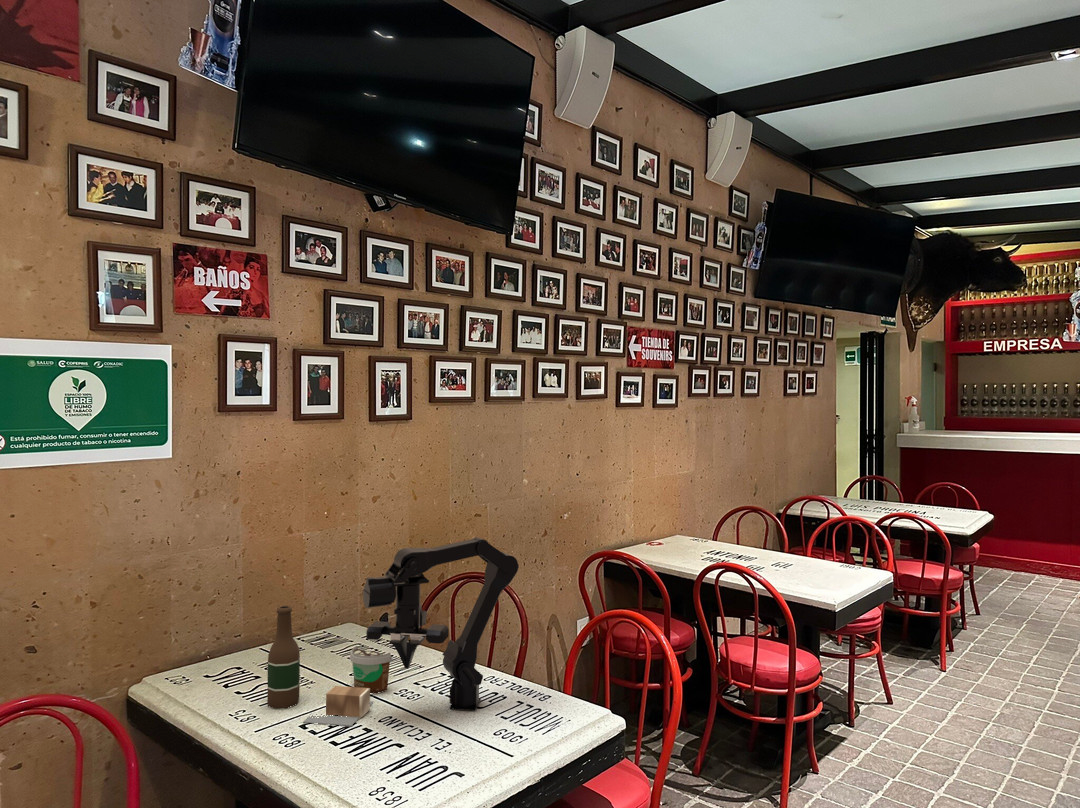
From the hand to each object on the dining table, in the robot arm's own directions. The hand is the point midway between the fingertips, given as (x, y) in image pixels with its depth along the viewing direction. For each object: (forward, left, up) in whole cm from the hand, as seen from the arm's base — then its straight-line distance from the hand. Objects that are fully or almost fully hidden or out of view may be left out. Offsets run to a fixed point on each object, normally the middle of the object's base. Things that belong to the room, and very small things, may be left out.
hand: (407, 668), depth 175 cm
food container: (+16, -14, -12) cm, 24 cm away
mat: (+17, 0, -12) cm, 21 cm away
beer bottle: (+33, -3, -12) cm, 35 cm away
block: (+10, 0, -9) cm, 14 cm away
